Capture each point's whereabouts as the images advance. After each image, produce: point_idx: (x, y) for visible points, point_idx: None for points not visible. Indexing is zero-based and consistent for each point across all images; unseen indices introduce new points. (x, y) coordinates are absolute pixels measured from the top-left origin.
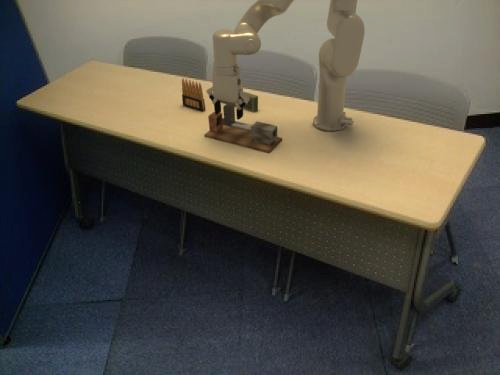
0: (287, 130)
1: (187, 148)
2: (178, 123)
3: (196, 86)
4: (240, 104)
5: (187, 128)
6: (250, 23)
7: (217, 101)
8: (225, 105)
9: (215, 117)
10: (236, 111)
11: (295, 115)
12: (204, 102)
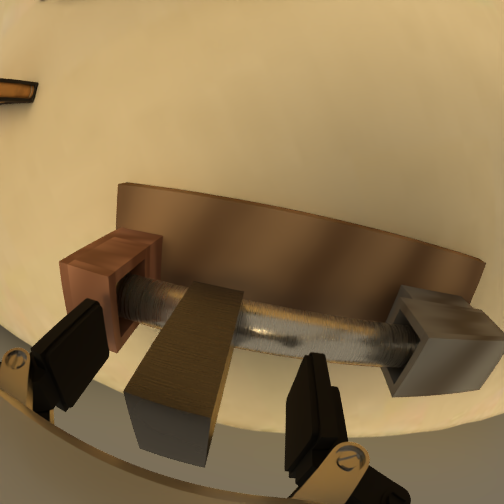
0: (490, 161)
1: (127, 383)
2: (11, 229)
3: None
4: (319, 473)
5: (43, 257)
6: None
7: (44, 397)
8: (140, 434)
9: (114, 350)
10: (285, 457)
11: (469, 20)
12: (10, 80)
